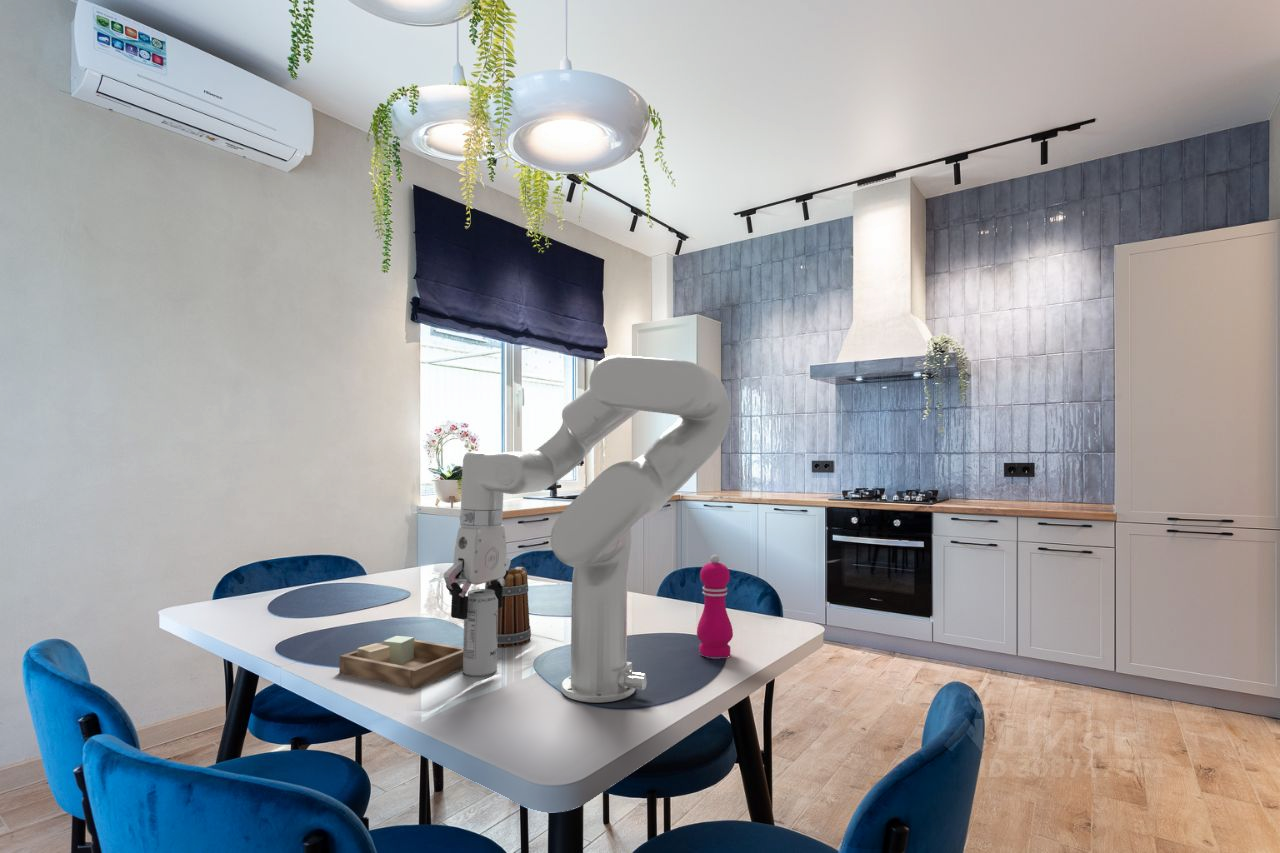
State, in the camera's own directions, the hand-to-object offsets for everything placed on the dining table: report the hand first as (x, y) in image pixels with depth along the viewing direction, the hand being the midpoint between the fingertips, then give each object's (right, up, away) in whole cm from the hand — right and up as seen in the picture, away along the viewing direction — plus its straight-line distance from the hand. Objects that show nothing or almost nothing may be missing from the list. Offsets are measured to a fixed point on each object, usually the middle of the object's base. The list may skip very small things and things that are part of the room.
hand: (477, 612), depth 121 cm
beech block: (-19, -10, 0) cm, 22 cm away
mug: (+2, -12, +22) cm, 25 cm away
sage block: (-16, -11, +5) cm, 20 cm away
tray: (-13, -11, 0) cm, 17 cm away
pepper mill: (+45, -12, +12) cm, 48 cm away
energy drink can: (+1, -11, -1) cm, 11 cm away
